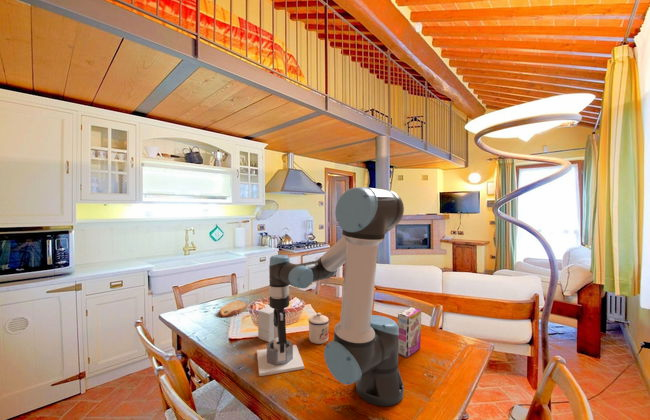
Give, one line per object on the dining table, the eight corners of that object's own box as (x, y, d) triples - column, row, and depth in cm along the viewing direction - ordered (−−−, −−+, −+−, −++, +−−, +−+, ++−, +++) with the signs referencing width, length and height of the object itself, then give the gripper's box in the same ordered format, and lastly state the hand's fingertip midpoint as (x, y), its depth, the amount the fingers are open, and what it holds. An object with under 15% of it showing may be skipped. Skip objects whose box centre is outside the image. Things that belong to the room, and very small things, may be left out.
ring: (294, 362, 102) (294, 349, 102) (267, 367, 100) (267, 353, 100) (289, 349, 112) (289, 337, 111) (265, 353, 109) (265, 340, 109)
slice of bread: (242, 302, 169) (242, 296, 169) (254, 311, 155) (254, 305, 155) (212, 309, 158) (212, 302, 158) (221, 319, 144) (221, 312, 144)
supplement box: (281, 336, 125) (281, 308, 125) (268, 342, 119) (268, 313, 119) (269, 331, 129) (269, 305, 129) (257, 338, 123) (257, 310, 123)
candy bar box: (408, 358, 107) (408, 317, 107) (396, 354, 111) (397, 313, 110) (421, 348, 115) (421, 309, 115) (410, 344, 118) (410, 306, 118)
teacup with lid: (322, 346, 116) (322, 319, 116) (304, 340, 121) (304, 314, 121) (335, 334, 127) (335, 309, 126) (318, 330, 131) (318, 306, 131)
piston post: (304, 368, 100) (304, 347, 100) (259, 376, 96) (259, 353, 96) (296, 347, 116) (296, 328, 115) (257, 352, 111) (257, 333, 111)
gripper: (294, 306, 94) (294, 367, 95) (284, 285, 118) (284, 334, 119) (272, 308, 92) (272, 371, 93) (266, 287, 116) (266, 337, 116)
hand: (279, 350), depth 106 cm, fingers open, 13 cm apart
